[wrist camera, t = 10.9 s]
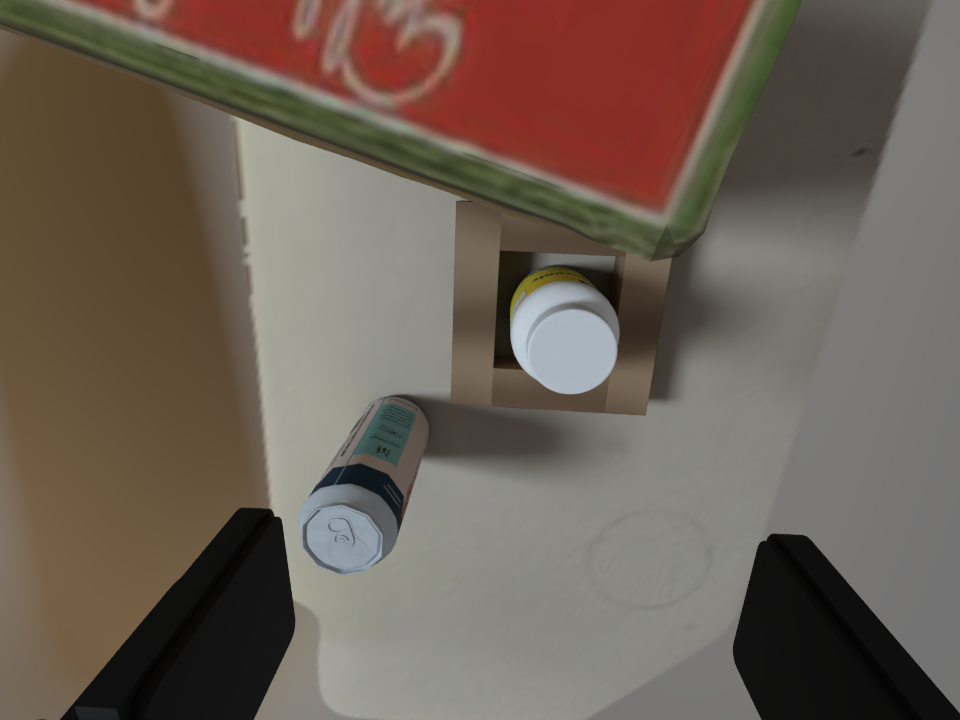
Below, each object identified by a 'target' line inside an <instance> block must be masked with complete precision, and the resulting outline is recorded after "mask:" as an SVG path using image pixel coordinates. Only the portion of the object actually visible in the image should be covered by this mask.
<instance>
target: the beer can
mask: <svg viewBox="0 0 960 720" xmlns="http://www.w3.org/2000/svg"><path fill="white" fill-rule="evenodd" d="M428 437H429V425H428V421H427V418H426V416H425V415H424V413H423V412H422V410H421V409H420V408H419V407H418V406H416V405H415V404H414V403H412V402H410V401H408V400H406V399H403V398H399V397H384V398H381V399H378V400H376V401H374V402H372V403H371V404H370V405H368V407H367V408H366V409H365V410H364V412H363V414H362V415H361V417H360V419H359V420H358V422H357V423H356V425H355V426H354V428H353V429H352V431H351V432H350V434H349V436H348V437H347V439H346V440H345V442H344V443H343V445H342V446H341V448H340V449H339V451H338V453H337V454H336V456H335V457H334V459H333V460H332V462H331V463H330V465H329V467H328V468H327V470H326V471H325V473H324V474H323V476H322V477H321V479H320V480H319V482H318V484H317V485H316V487H315V488H314V490H313V491H312V493H311V494H310V496H309V497H308V499H307V500H306V502H305V503H304V504H303V506H302V509H301V512H300V516H299V527H300V532H301V540H302V548H303V549H304V551H305V552H306V553H307V554H308V556H309V557H310V558H311V559H312V561H313V562H314V563H315V564H316V565H317V566H318V567H321V568H323V569H326V570H329V571H331V572H334V573H336V574H339V575H348V574H355V573H362V572H366V571H367V570H368V569H369V568H370V567H372V566H373V565H375V564H376V563H378V562H380V561H381V560H382V559H384V558H385V557H386V556H387V555H388V554H389V553H390V552H391V551H392V549H393V547H394V545H395V543H396V540H397V536H398V533H399V530H400V527H401V523H402V520H403V517H404V514H405V511H406V508H407V504H408V501H409V498H410V495H411V492H412V488H413V485H414V482H415V479H416V476H417V473H418V469H419V466H420V463H421V460H422V457H423V453H424V450H425V447H426V444H427V441H428Z"/></svg>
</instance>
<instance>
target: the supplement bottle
mask: <svg viewBox="0 0 960 720" xmlns="http://www.w3.org/2000/svg"><path fill="white" fill-rule="evenodd" d="M510 334H511V343H512V348H513V352H514V354H515V357H516V359H517V361H518V362H519V364H520V365H521V367H522V368H523V369H524V370H525V371H526V372H527V373H528V374H529V375H530V376H532V377H533V378H534V379H536V380H538V381H539V382H540V383H541V384H542V385H544V386H545V387H547V388H548V389H550V390H552V391H555V392H558V393H562V394H579V393H583V392H587V391H589V390H591V389H593V388H595V387H597V386H598V385H600V384H601V383H602V382H603V381H604V380H605V379H606V378H607V377H608V376H609V374H610V373H611V371H612V369H613V368H614V365H615V362H616V359H617V350H618V349H617V346H618V342H619V323H618V319H617V316H616V313H615V311H614V309H613V307H612V306H611V304H610V303H609V301H608V300H607V299H606V297H605V296H604V295H603V294H602V293H601V292H600V291H599V290H598V289H597V288H596V287H595V286H594V285H593V284H592V283H591V282H590V281H589V280H588V279H587V278H586V277H585V276H584V275H582V274H581V273H579V272H578V271H576V270H574V269H572V268H569V267H565V266H559V265H551V266H545V267H541V268H539V269H536V270H534V271H532V272H531V273H529V274H528V275H527V276H526V277H524V278H523V279H522V281H521V282H520V283H519V285H518V286H517V287H516V289H515V291H514V294H513V296H512V300H511V305H510Z"/></svg>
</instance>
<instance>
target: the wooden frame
mask: <svg viewBox="0 0 960 720" xmlns="http://www.w3.org/2000/svg"><path fill="white" fill-rule="evenodd" d="M500 250H501V251H522V252H542V253H562V254H583V255H603V256H616V259H615V267H614V274H613V282H612V290H611V297H610V304H611V306H612V307H613V309H614V311H615V313H616V316H617V319H618V323H619V342H618V346H617V349H618V350H617V359H616V362H615V365H614V368H613V369H612V371H611V373H610V374H609V376H608V377H607V378H606V379H605V380H604V381H603V382H602V383H601V384H600V385H598V386H597V387H595V388H593V389H591V390H589V391H587V392H583V393H579V394H562V393H558V392H555V391H552V390H550V389H548V388H547V387H545V386H544V385H542V384H541V383H540V382H539V381H538V380H536V379H534V378H533V377H532V376H530V375H529V374H528V373H527V372H526V371H525V370H524V369H523V368H522V367H521V365H520V364H519V362H518V361H517V359H516V357H512V356H494V348H495V329H496V311H497V293H498V275H499V256H500ZM671 260H672V258H667V259H662V260H657V261H652V262H649V261H646V260H644V259H641V258H638V257H636V256H633V255H630V254H628V253H625V252H623V251H620V250H617V249H615V248H612V247H609V246H606V245H604V244H601V243H598V242H595V241H592V240H589V239H586V238H583V237H580V236H577V235H575V234H572V233H569V232H566V231H563V230H560V229H556V228H553V227H549V226H546V225H542V224H539V223H535V222H532V221H528V220H525V219H521V218H518V217H514V216H511V215H507V214H504V213H502V212H499V211H497V210H494V209H491V208H489V207H486V206H483V205H481V204H478V203H475V202H473V201H456V228H455V266H454V304H453V342H452V381H451V404H461V405H477V406H494V407H511V408H528V409H544V410H561V411H578V412H595V413H612V414H628V415H645V416H646V411H647V405H648V399H649V393H650V387H651V381H652V375H653V369H654V363H655V356H656V350H657V344H658V338H659V332H660V326H661V320H662V314H663V308H664V302H665V296H666V290H667V284H668V278H669V272H670V266H671Z"/></svg>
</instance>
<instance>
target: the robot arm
mask: <svg viewBox="0 0 960 720" xmlns="http://www.w3.org/2000/svg"><path fill="white" fill-rule="evenodd" d="M294 629H295V613H294V607H293V599H292V591H291V584H290V577H289V569H288V562H287V555H286V547H285V540H284V533H283V525H282V520H281V518H280V517H274V513H273V511H272V510H271V509H262V508H240V509H238V510H237V511H236V512H235V514H234V515H233V516H232V517H231V518H230V520H229V521H228V522H227V523H226V524H225V525H224V527H223V528H222V529H221V530H220V532H219V533H218V534H217V535H216V536H215V538H214V539H213V540H212V541H211V542H210V544H209V545H208V546H207V547H206V549H205V550H204V551H203V552H202V553H201V554H200V556H199V557H198V558H197V559H196V560H195V562H194V563H193V564H192V565H191V566H190V568H189V569H188V570H187V571H186V572H185V574H184V575H183V576H182V577H181V578H180V579H179V580H178V581H177V582H176V583H174V584H173V585H172V587H171V588H170V589H169V590H168V591H167V592H166V594H165V595H164V596H163V597H162V598H161V600H160V601H159V602H158V603H157V604H156V606H155V607H154V608H153V609H152V611H151V612H150V613H149V614H148V615H147V616H146V618H145V619H144V620H143V621H142V622H141V624H140V625H139V626H138V627H137V628H136V630H135V631H134V632H133V633H132V634H131V636H130V637H129V638H128V639H127V640H126V641H125V643H124V644H123V645H122V646H121V648H120V649H119V650H118V651H117V652H116V653H115V655H114V656H113V657H112V658H111V659H110V661H109V662H108V663H107V664H106V665H105V667H104V668H103V669H102V670H101V671H100V673H99V674H98V675H97V676H96V677H95V678H94V680H93V681H92V682H91V683H90V685H89V686H88V687H87V688H86V689H85V690H84V692H83V693H82V694H81V695H80V696H79V698H78V699H77V700H76V701H75V703H74V704H73V705H72V706H71V707H70V708H69V710H68V711H67V712H66V713H65V715H64V716H63V717H62V718H61V719H60V720H254V718H255V716H256V714H257V712H258V709H259V707H260V705H261V703H262V701H263V699H264V696H265V695H266V693H267V690H268V688H269V686H270V684H271V682H272V680H273V678H274V676H275V674H276V671H277V669H278V667H279V665H280V663H281V661H282V659H283V657H284V655H285V652H286V650H287V648H288V646H289V644H290V642H291V639H292V637H293V634H294ZM733 656H734V661H735V664H736V667H737V669H738V671H739V673H740V675H741V678H742V679H743V682H744V684H745V686H746V688H747V690H748V692H749V694H750V696H751V699H752V701H753V703H754V705H755V707H756V709H757V711H758V713H759V715H760V717H761V719H762V720H960V713H959V712H958V711H957V710H956V708H955V707H954V706H953V705H952V704H951V703H950V701H949V700H948V699H947V698H946V697H945V696H944V694H943V693H942V692H941V691H940V690H939V689H938V688H937V687H936V685H935V684H934V683H933V682H932V680H931V679H930V678H929V677H928V676H927V675H926V674H925V672H924V671H923V670H922V669H921V668H920V666H919V665H918V664H917V663H916V662H915V661H914V660H913V658H912V657H911V656H910V655H909V654H908V653H907V651H906V650H905V649H904V648H903V647H902V646H901V644H900V643H899V642H898V641H897V640H896V639H895V637H894V636H893V635H892V634H891V633H890V632H889V630H888V629H887V628H886V627H885V626H884V625H883V624H882V622H881V621H880V620H879V619H878V618H877V616H876V615H875V614H874V613H873V612H872V611H871V609H870V608H869V607H868V606H867V605H866V604H865V602H864V601H863V600H862V599H861V598H860V597H859V596H858V594H857V593H856V592H855V591H854V590H853V589H852V587H851V586H850V585H849V584H848V583H847V581H846V580H845V579H844V578H843V577H842V576H841V574H840V573H839V572H838V571H837V570H836V569H835V567H834V566H833V565H832V564H831V563H830V562H829V561H828V559H827V558H826V557H825V556H824V555H823V554H822V552H821V551H820V550H819V549H818V548H817V547H816V545H815V544H814V543H813V542H812V541H811V540H810V539H809V538H808V537H806V536H804V535H791V534H771V535H770V536H769V537H768V538H767V541H762V542H760V543H759V546H758V548H757V552H756V556H755V560H754V564H753V568H752V572H751V576H750V580H749V584H748V588H747V592H746V596H745V600H744V604H743V608H742V612H741V616H740V620H739V624H738V628H737V632H736V635H735V639H734V643H733ZM39 720H46V719H39Z"/></svg>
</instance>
